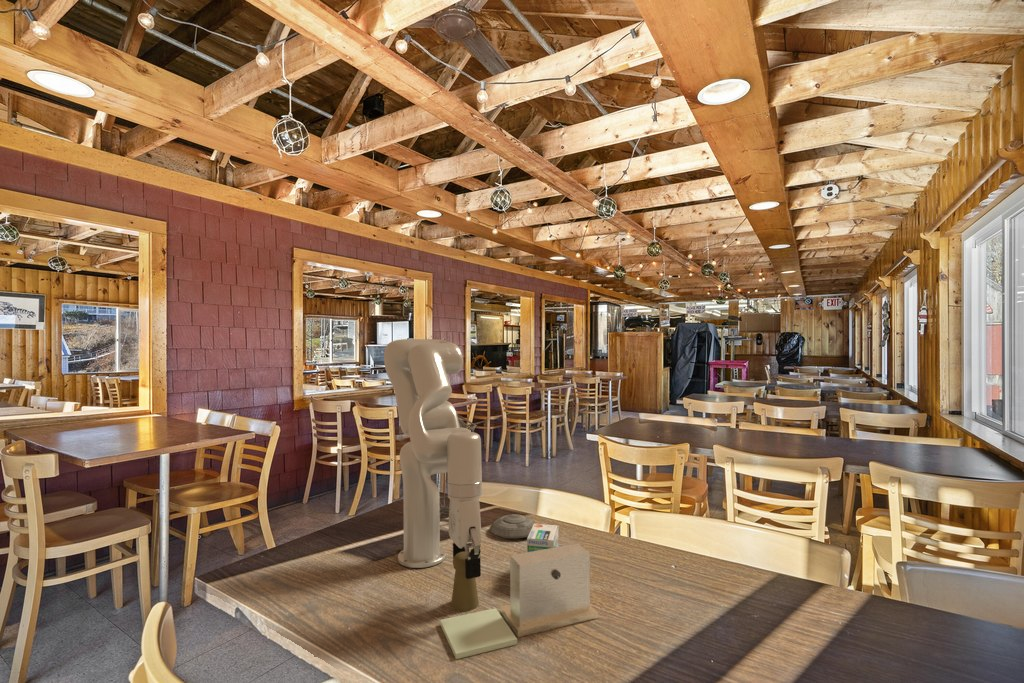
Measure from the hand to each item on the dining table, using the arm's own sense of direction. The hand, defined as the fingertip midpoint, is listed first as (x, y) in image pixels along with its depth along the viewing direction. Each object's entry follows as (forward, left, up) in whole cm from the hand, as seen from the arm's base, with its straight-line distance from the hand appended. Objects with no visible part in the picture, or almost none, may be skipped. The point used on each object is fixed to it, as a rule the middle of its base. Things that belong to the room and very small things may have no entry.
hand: (466, 568), depth 108 cm
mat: (+11, -1, -8) cm, 14 cm away
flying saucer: (-36, +26, -9) cm, 45 cm away
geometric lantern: (-58, +12, -8) cm, 60 cm away
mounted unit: (+10, +15, -8) cm, 20 cm away
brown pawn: (-1, 0, -8) cm, 8 cm away
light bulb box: (-7, +22, -8) cm, 24 cm away
